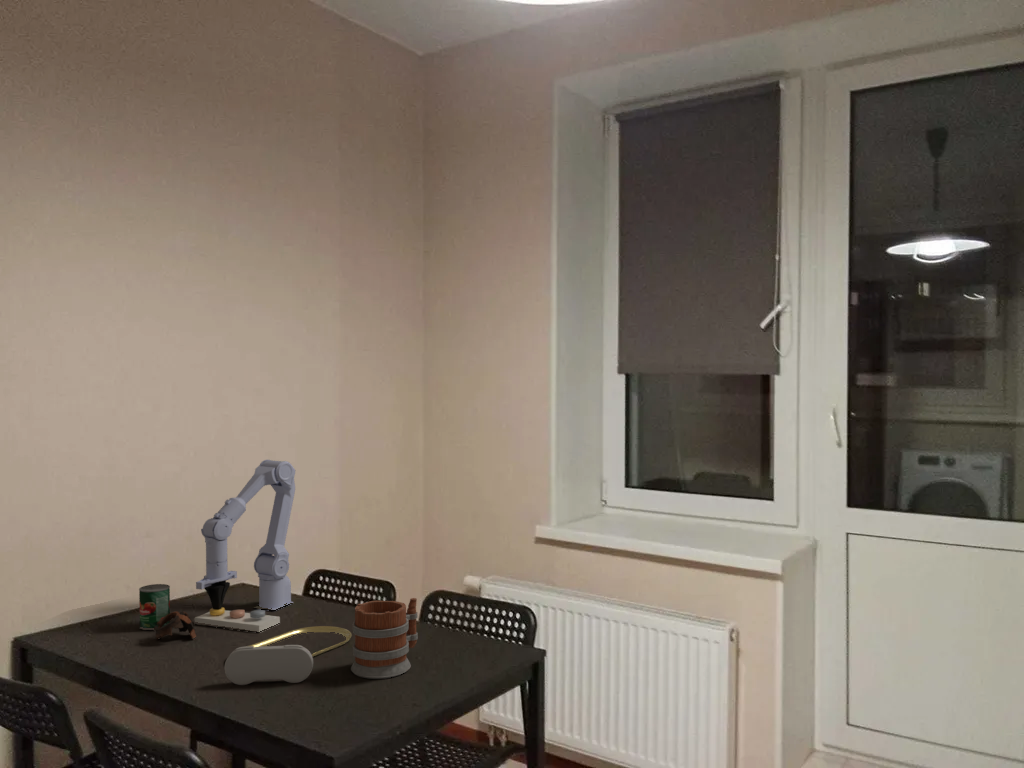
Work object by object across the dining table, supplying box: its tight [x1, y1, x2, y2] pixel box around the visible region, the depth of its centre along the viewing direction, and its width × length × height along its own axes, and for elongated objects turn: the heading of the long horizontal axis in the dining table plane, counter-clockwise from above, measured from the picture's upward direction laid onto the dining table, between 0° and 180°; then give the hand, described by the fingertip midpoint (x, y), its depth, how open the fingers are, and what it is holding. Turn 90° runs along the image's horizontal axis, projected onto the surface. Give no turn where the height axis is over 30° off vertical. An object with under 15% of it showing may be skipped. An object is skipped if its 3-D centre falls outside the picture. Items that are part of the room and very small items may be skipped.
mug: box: [350, 597, 419, 680], centre depth 202 cm, size 14×19×15 cm
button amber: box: [209, 606, 226, 615], centre depth 239 cm, size 4×4×1 cm
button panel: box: [194, 609, 281, 633], centre depth 237 cm, size 9×22×2 cm, turn 69°
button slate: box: [249, 609, 266, 618], centre depth 234 cm, size 4×4×1 cm
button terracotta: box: [229, 609, 246, 618], centre depth 237 cm, size 4×4×1 cm
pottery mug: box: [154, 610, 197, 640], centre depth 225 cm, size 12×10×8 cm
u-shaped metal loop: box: [249, 625, 353, 658], centre depth 215 cm, size 19×35×2 cm, turn 149°
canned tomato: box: [138, 583, 171, 628], centre depth 235 cm, size 8×8×11 cm
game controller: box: [224, 644, 314, 686], centre depth 192 cm, size 20×2×8 cm, turn 96°
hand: (217, 608), depth 239 cm, fingers closed
